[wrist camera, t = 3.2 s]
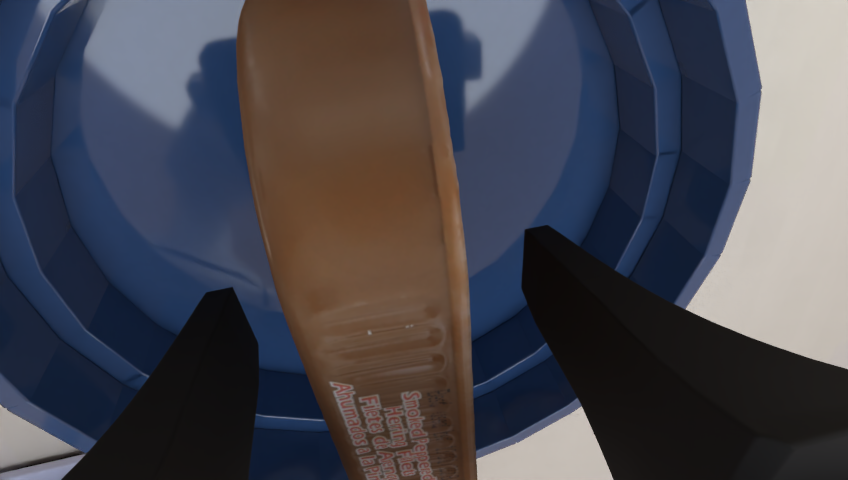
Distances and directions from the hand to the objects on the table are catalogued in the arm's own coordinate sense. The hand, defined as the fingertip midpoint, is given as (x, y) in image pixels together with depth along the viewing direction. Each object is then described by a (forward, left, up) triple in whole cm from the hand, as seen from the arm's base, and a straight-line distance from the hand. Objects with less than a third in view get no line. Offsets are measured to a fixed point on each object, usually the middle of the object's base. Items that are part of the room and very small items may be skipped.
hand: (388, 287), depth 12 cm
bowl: (0, 0, -4) cm, 4 cm away
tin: (0, 0, -4) cm, 4 cm away
